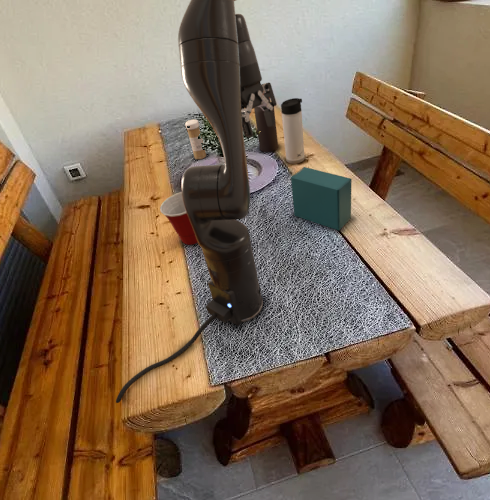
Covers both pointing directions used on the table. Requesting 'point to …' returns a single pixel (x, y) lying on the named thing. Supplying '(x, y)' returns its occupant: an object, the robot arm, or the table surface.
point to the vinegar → (265, 131)
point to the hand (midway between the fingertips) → (260, 131)
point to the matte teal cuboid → (322, 197)
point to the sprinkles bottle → (195, 139)
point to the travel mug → (293, 130)
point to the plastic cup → (179, 218)
